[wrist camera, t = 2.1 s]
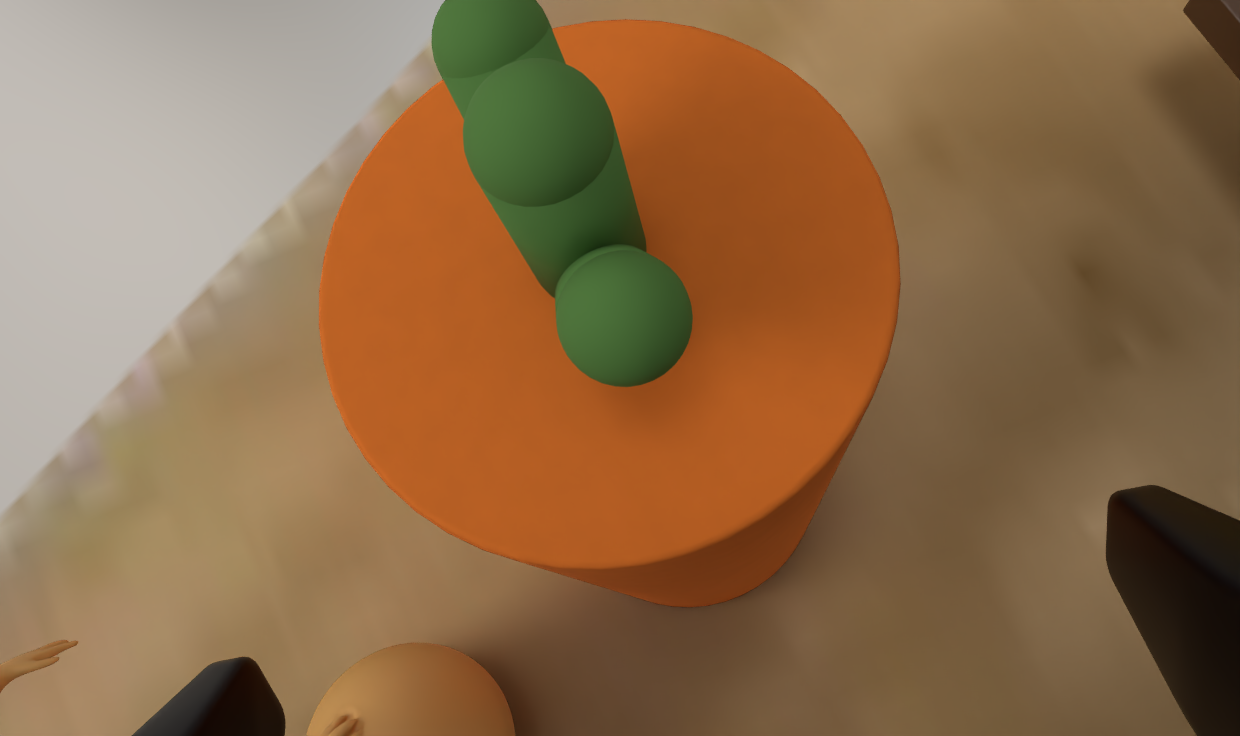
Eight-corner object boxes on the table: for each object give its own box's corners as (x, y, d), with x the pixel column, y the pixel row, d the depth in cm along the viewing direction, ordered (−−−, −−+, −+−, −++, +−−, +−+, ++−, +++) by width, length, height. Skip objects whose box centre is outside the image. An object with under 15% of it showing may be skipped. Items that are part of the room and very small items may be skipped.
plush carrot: (864, 537, 19) (1176, 266, 5) (620, 652, 19) (245, 705, 5) (744, 312, 21) (722, -356, 7) (521, 416, 21) (44, -30, 7)
